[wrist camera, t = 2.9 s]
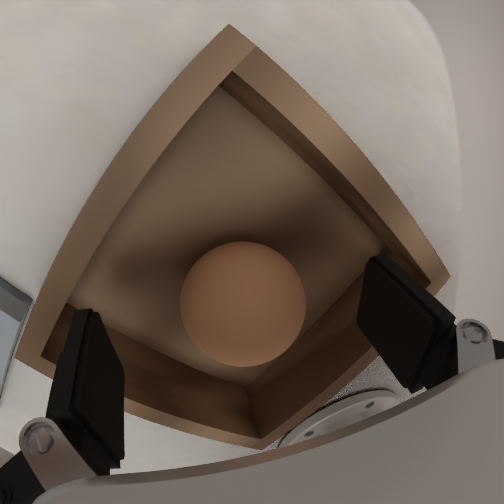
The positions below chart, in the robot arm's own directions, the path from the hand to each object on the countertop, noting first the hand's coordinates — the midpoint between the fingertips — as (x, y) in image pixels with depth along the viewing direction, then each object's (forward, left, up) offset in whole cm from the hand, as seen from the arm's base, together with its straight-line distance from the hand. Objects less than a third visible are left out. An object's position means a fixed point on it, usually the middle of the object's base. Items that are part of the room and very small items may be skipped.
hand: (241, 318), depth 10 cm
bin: (-1, 0, -5) cm, 5 cm away
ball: (-1, 0, -2) cm, 2 cm away
